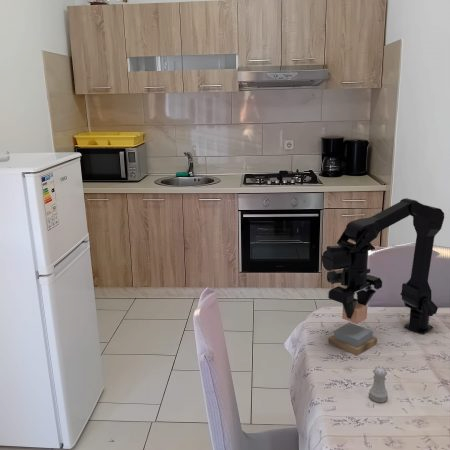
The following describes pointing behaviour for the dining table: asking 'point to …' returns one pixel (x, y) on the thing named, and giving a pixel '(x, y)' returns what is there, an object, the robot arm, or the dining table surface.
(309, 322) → the dining table surface
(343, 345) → the walnut base block
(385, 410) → the dining table surface
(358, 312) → the terracotta block
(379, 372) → the grey chess pawn
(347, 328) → the slate top block
